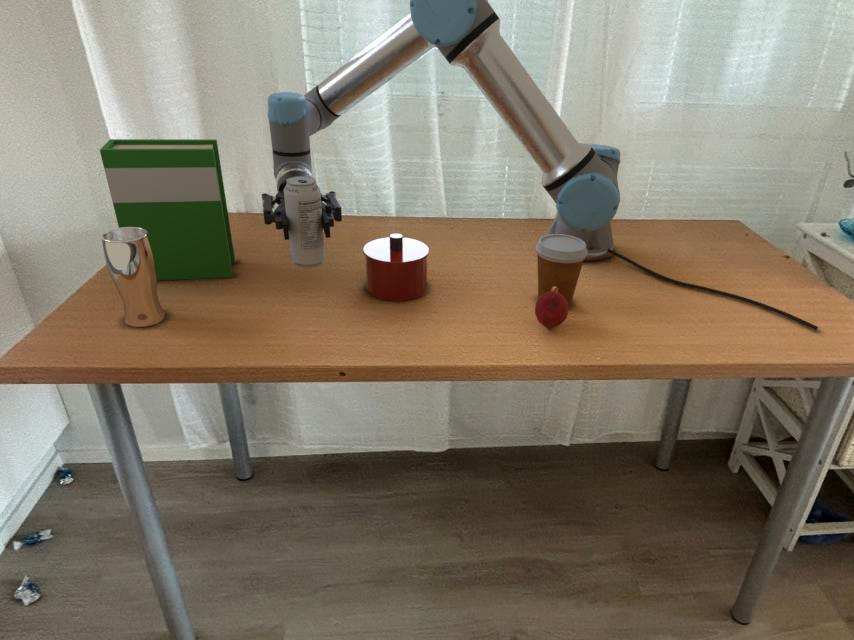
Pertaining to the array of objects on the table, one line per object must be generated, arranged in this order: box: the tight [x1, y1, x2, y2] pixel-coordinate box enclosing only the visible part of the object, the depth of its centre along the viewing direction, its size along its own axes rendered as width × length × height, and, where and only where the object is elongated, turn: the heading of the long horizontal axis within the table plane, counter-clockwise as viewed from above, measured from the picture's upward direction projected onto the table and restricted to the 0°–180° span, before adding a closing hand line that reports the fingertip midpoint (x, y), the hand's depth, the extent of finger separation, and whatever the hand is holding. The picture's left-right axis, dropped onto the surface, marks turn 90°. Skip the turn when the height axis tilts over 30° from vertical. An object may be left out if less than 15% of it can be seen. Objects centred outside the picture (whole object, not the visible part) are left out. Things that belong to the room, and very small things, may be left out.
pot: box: [364, 255, 428, 302], centre depth 122 cm, size 11×11×7 cm
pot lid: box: [362, 233, 430, 265], centre depth 119 cm, size 12×12×4 cm
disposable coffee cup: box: [535, 234, 588, 308], centre depth 119 cm, size 10×10×12 cm
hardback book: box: [99, 138, 236, 281], centre depth 118 cm, size 18×7×24 cm, turn 104°
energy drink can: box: [284, 176, 326, 269], centre depth 112 cm, size 6×6×15 cm
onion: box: [534, 286, 570, 330], centre depth 111 cm, size 6×6×8 cm
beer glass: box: [100, 227, 166, 328], centre depth 104 cm, size 7×7×15 cm
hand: (307, 231), depth 108 cm, fingers closed on energy drink can, 6 cm apart
